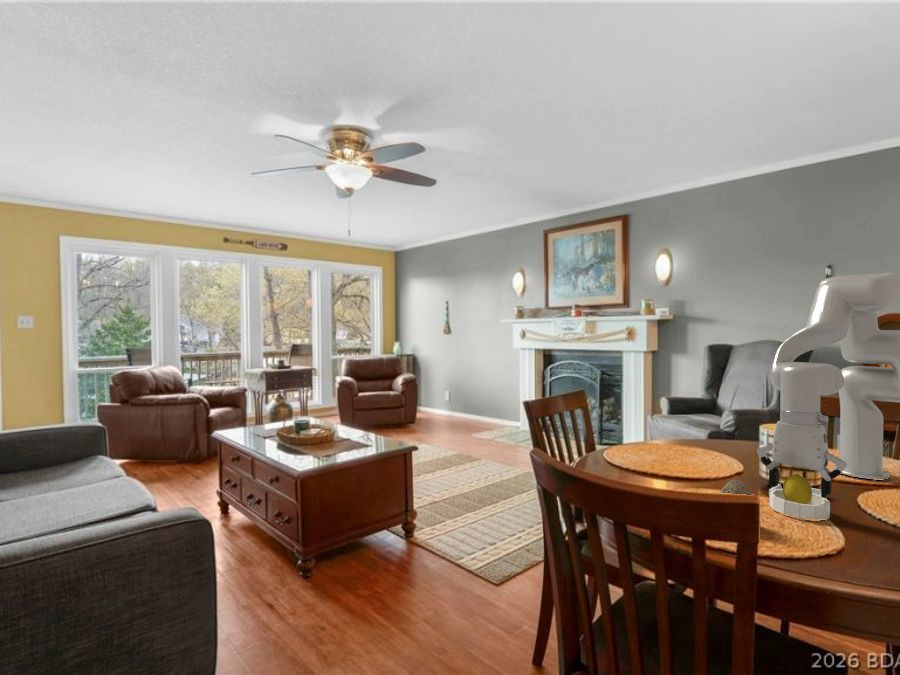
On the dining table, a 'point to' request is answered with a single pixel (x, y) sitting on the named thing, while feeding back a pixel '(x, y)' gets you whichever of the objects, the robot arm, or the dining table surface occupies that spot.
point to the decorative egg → (735, 488)
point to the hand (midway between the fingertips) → (799, 491)
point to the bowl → (800, 506)
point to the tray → (815, 491)
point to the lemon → (797, 489)
